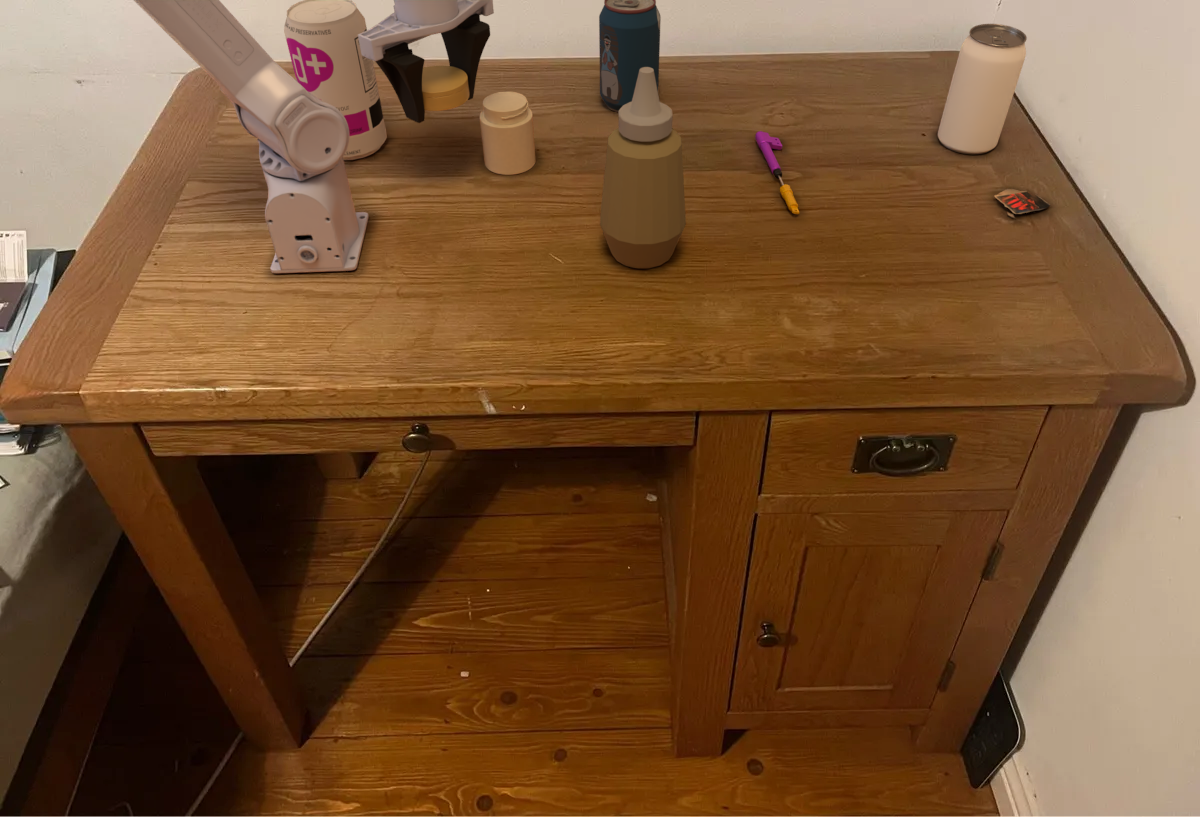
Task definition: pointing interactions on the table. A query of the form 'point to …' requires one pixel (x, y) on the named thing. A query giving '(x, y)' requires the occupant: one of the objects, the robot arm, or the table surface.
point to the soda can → (627, 47)
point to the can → (982, 88)
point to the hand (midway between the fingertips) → (440, 107)
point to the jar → (507, 133)
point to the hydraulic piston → (776, 166)
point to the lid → (444, 88)
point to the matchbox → (1021, 201)
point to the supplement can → (337, 68)
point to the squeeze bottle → (643, 181)
